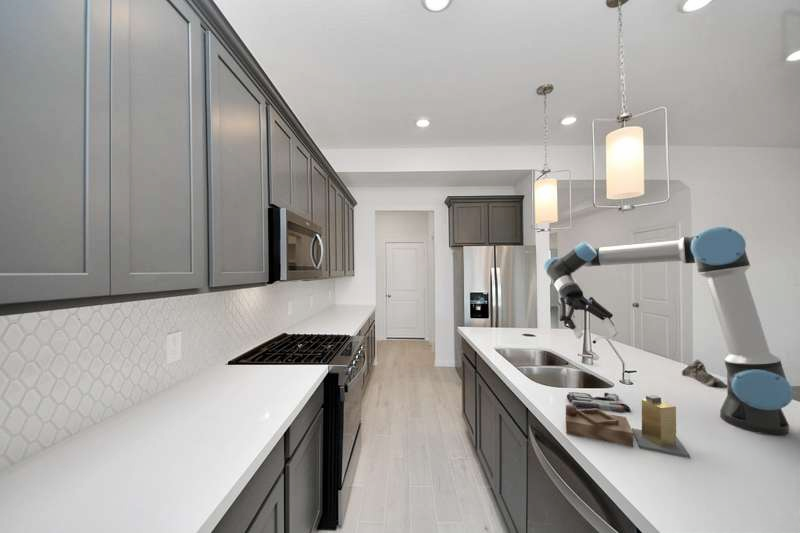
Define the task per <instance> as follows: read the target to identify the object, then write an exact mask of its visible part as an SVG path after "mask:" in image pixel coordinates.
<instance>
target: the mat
mask: <svg viewBox="0 0 800 533" xmlns="http://www.w3.org/2000/svg"><path fill="white" fill-rule="evenodd" d="M631 429H632V431H633V438H634V439H635V441H636V443H637V445H638V448H639V449H641V450H646V451H650V452H651V451H652V452H656V453H662V454H665V455H670V456H675V457H682V458H687V459H691V455H690V453H689V452H688V451H687V449H686V447H684V445H683V443H682V442H681V440H680V439H679V438H678V436H677V435H676V446H667V447H660V446H658V445H657V444H655V443H653V442H651V441H650V440H648V439H646V438H644V437H643V436H642V429H640V428H632V427H631Z"/></svg>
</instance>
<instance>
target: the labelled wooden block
mask: <svg viewBox="0 0 800 533" xmlns="http://www.w3.org/2000/svg"><path fill="white" fill-rule="evenodd" d="M641 430H642V436H643V437H644V438H646V439H648V440H650V441H651V442H653V443H655V444H657V445H658V446H660V447H667V446H676V436H677V406H675V405H673V404H672V403H668V402H666V401H663V400H662V397H660V396H657V395H655V394H653V395H652V394H651V395H650V394H649V395H646V396H645V398H643V399H642V398H641Z"/></svg>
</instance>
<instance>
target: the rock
mask: <svg viewBox="0 0 800 533" xmlns="http://www.w3.org/2000/svg"><path fill="white" fill-rule="evenodd" d="M681 375H682V376H684V377H689V378H691V379H693V380H696V381H697V382H699V383H700V384H701V385H704V386H707V387H711V388H717V389H720V388H727V384H726V383H725V382H723V381H722V380H721V379H719V378H717V377H715V376H713V375H712V374H711V373H709V372H708V371H707V370H706V366H705V364H704V362H702V361H701V360H700V359H696V360H694V361H693V363H691V364H689V365H687V366H686V367H685V368H684V369H682V370H681Z"/></svg>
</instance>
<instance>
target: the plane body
mask: <svg viewBox="0 0 800 533" xmlns="http://www.w3.org/2000/svg"><path fill="white" fill-rule="evenodd" d="M565 430H566V431H565V432H566V434H567V435H570V436H576V437H581V438H586V439H591V440H595V441H601V442H607V443H610V444H617V445H621V446H627V447H631V448H634V435H633V431H632V426H631V425H630V423H629V420H628V419H627V417H626V416H622V415H616V414H610V413H606V412H604V410H600V409H597V408H594V409H585V408H576V406H574V405H572V404H566V405H565Z"/></svg>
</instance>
